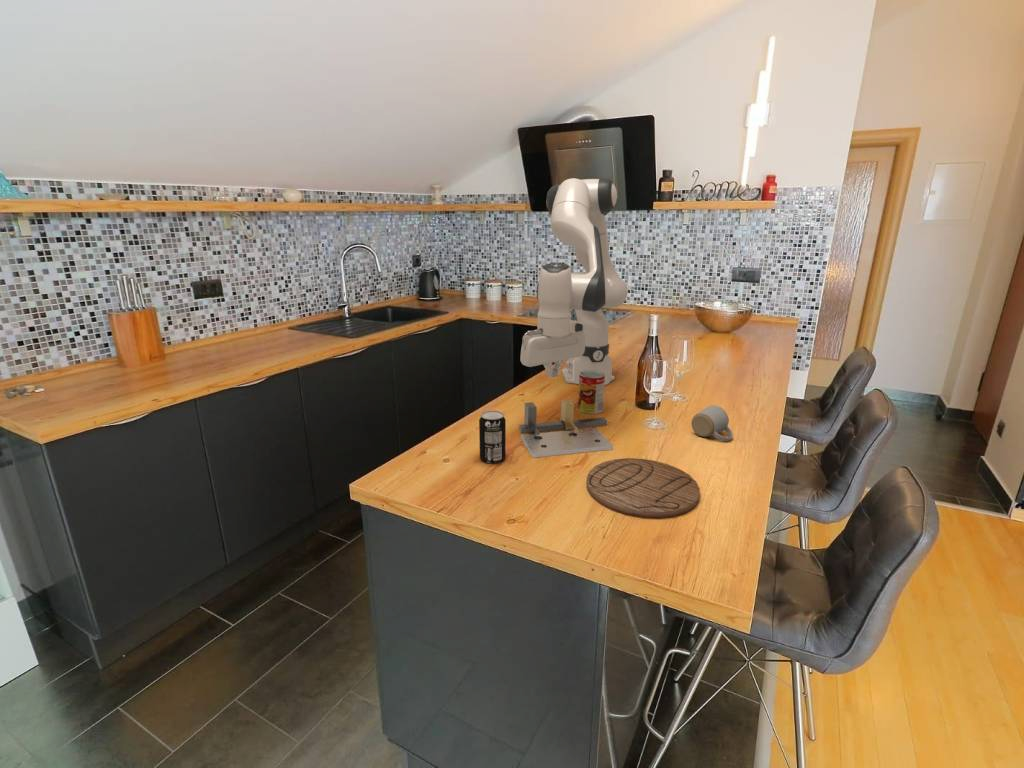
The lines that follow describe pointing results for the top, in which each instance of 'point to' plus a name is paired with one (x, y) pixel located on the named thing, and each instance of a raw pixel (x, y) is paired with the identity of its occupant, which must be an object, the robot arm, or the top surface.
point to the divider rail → (548, 426)
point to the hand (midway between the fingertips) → (552, 376)
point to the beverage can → (492, 436)
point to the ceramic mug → (712, 423)
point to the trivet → (643, 488)
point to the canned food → (591, 391)
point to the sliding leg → (568, 414)
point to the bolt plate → (565, 442)
